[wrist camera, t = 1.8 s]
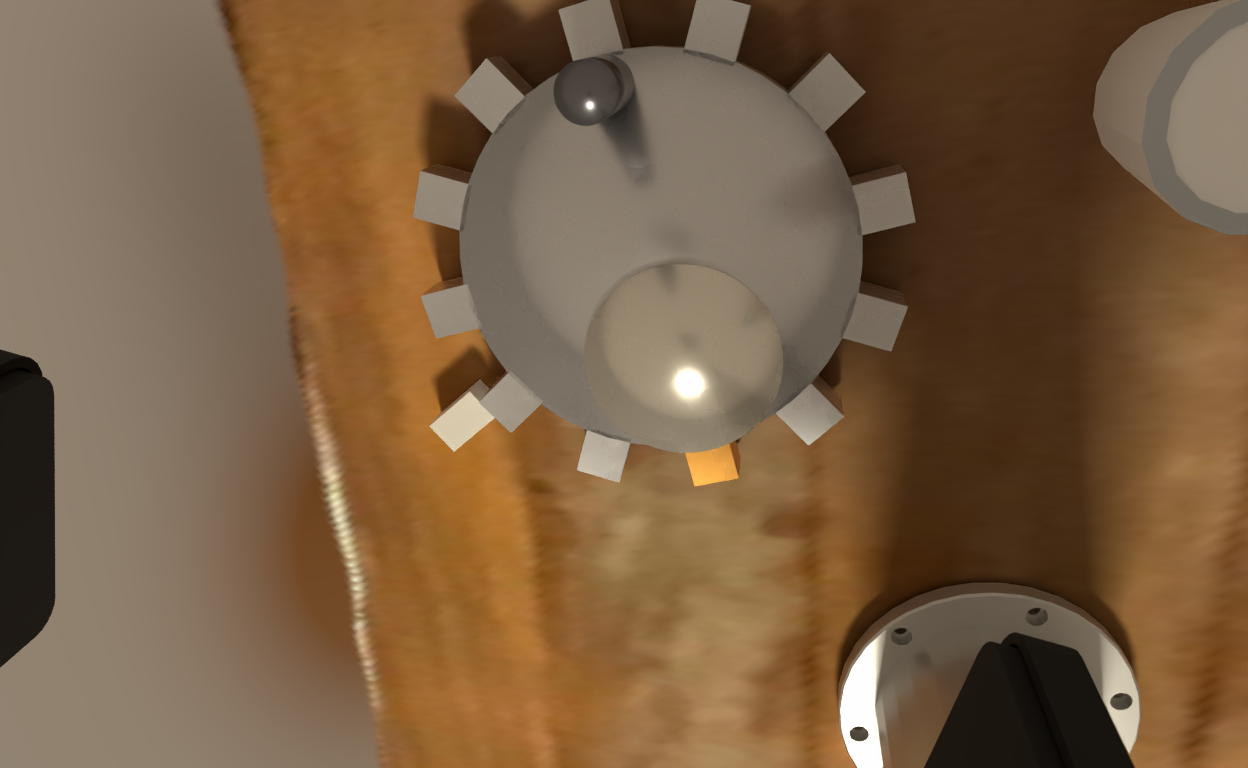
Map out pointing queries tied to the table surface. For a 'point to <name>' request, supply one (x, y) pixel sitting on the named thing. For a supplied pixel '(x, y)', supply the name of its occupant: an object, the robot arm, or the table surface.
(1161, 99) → the white cup
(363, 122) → the table surface
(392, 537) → the table surface
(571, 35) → the index wheel
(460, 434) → the block
